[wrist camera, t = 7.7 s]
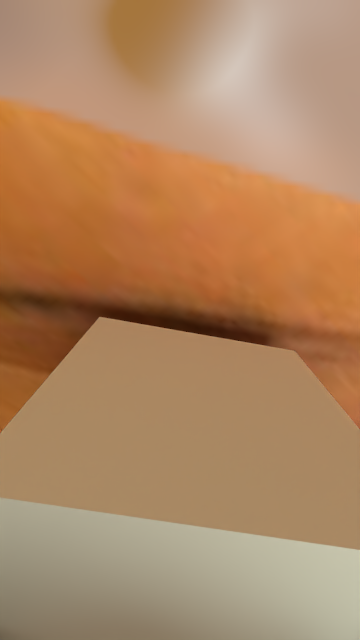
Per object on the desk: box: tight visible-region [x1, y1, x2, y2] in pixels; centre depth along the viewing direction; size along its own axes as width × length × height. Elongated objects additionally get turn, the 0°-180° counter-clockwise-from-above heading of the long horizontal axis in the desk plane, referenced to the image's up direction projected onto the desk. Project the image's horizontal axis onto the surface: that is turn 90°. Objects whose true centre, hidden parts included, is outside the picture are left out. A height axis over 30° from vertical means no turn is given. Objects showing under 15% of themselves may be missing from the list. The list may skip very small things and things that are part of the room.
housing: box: [0, 317, 360, 640], centre depth 11 cm, size 9×9×9 cm
